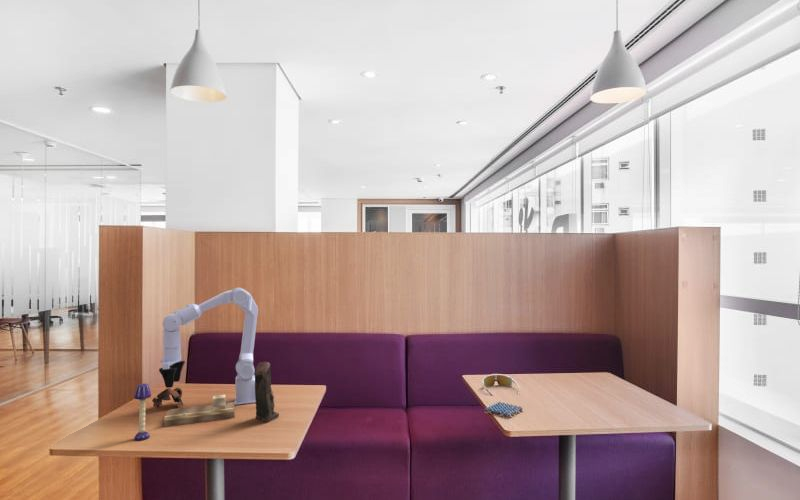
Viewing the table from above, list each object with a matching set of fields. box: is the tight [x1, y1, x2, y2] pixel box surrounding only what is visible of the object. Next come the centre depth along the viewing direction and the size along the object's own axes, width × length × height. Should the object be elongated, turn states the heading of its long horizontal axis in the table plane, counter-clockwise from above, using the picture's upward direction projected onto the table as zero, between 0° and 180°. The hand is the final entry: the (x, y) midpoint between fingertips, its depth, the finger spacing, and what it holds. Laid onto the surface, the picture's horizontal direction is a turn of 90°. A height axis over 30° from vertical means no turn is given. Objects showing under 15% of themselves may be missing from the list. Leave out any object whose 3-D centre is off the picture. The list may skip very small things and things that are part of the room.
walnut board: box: [164, 401, 236, 427], centre depth 163 cm, size 22×12×4 cm, turn 110°
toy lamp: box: [133, 383, 152, 441], centre depth 144 cm, size 5×5×17 cm
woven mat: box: [483, 401, 524, 420], centre depth 162 cm, size 10×11×2 cm
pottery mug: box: [151, 387, 184, 409], centre depth 174 cm, size 12×10×8 cm
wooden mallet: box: [212, 394, 227, 410], centre depth 165 cm, size 4×10×5 cm, turn 20°
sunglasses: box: [481, 373, 520, 397], centre depth 187 cm, size 14×15×5 cm
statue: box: [254, 361, 280, 423], centre depth 159 cm, size 7×7×20 cm
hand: (172, 384), depth 169 cm, fingers open, 7 cm apart
